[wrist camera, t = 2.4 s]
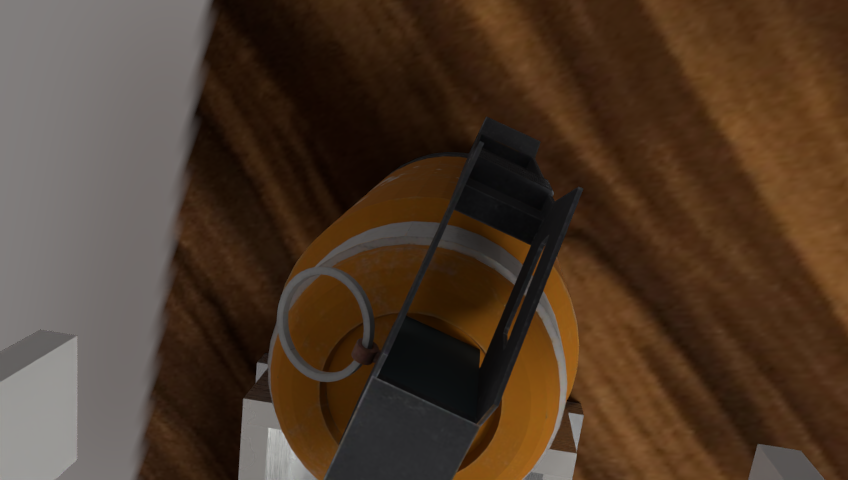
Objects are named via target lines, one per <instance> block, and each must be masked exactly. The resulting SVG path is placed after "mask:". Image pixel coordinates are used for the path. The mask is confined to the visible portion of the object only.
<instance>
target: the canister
mask: <svg viewBox="0 0 848 480" xmlns="http://www.w3.org/2000/svg"><path fill="white" fill-rule="evenodd" d="M539 145H540V141H538V140H536V139H534V138H531V137H529V136H527V135H525V134H523V133H521V132H518V131H516V130H514V129H512V128H510V127H508V126H506V125H503V124H501V123H499V122H497V121H495V120H493V119H490V118H488V117H486V118H485V120H484V123H483V125H482V127H481V129H480V131H479V133H478V135H477V137H476V140H475V142H474V144H473V146H472V148H471V150H470V152H469V154H467V153H457V152H444V153H435V154H430V155H426V156H423V157H419V158H416V159H414V160H412V161H410V162H408V163H405V164H403V165H402V166H400V167H399V168H397V169H396V170H394V171H393V172H391V173H390V174H389V175H388V176H387V177H386V178H384V179H383V180H382V181H381V182H380V183H379V184H377V185H376V186H375V187H374V188H373V189H372V190H371V191H369V192H368V193H367V194H366V195H365V196H364V197H363V198H361V199H360V200H359V201H358V202H357V203H356V204H355V205H353V206H352V207H351V208H350V209H349V210H348V211H346V212H345V213H344V214H343V215H342V216H341V217H340V218H338V219H337V220H336V221H335V222H334V223H333V224H332V225H330V226H329V227H328V228H327V229H326V230H325V231H324V232H323V233H322V234H321V235H320V236H319V237H317V238H316V239H315V240H314V241H313V242H312V243H311V244H310V245H309V246H308V248H307V249H306V250H305V252H304V253H303V254H302V256H301V257H300V258H299V260H298V261H297V262H296V264H295V266H294V268H293V270H292V272H291V274H290V276H289V278H288V280H287V282H286V284H285V287H284V290H283V293H282V295H281V298H280V301H279V305H278V311H277V322H276V325H275V328H274V331H273V335H272V338H271V342H270V349H269V356H268V384H269V389H270V394H271V399H272V404H273V407H274V410H275V413H276V416H277V419H278V421H279V424H280V427H281V430H282V432H283V434H284V436H285V438H286V440H287V442H288V443H289V445H290V447H291V449H292V451H293V452H294V453H295V455H296V456H297V457H298V459H299V460H300V461H301V463H302V464H303V465H304V467H305V468H306V469H307V470H308V471H309V472H310V473H311V474H312V475H313V476H314V477H315V478H316V479H317V480H524V479H525V478H526V477H527V475H528V474H529V473H530V472H531V471H532V470H533V469H534V468H535V467H536V466H537V465H538V464H539V463H540V461H541V460H542V458H543V457H544V455H545V454H546V452H547V451H548V449H549V448H550V447H551V444H552V442H553V440H554V438H555V436H556V434H557V431H558V429H559V427H560V424H561V420H562V416H563V412H564V409H565V404H566V402H567V399H568V397H569V395H570V393H571V390H572V387H573V383H574V379H575V375H576V372H577V365H578V354H579V338H578V326H577V320H576V316H575V312H574V308H573V305H572V301H571V298H570V295H569V292H568V289H567V285H566V282H565V279H564V276H563V273H562V270H561V267H560V264H559V261H558V258H557V255H558V252H559V250H560V247H561V244H562V242H563V239H564V237H565V234H566V232H567V229H568V226H569V224H570V221H571V219H572V216H573V214H574V211H575V208H576V206H577V203H578V201H579V198H580V196H581V193H582V191H583V188H580V187H578V188H576V189H574V190H573V191H571V192H570V193H568V194H566V195H565V196H563V197H562V198H560V199H558V200H557V201H554V199H553V197H552V196H553V195H554V193H553V190H552V188H551V186H550V184H549V182H548V180H547V179H545V178H544V177H543V175H542V173H541V171H540V169H539V166H538V164H537V162H536V160H535V157H536V154H537V151H538V148H539Z"/></svg>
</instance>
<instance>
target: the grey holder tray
mask: <svg viewBox="0 0 848 480" xmlns="http://www.w3.org/2000/svg"><path fill="white" fill-rule="evenodd" d="M268 356H269V353H265V354H264V355H263V356H262V357H261V358H260V359H259V361H258V362H257V370H256V383H255V384H254V386H253V387H252V388H251V389H250V391H249V392H248V393H247V394H246V396H245V397H244V398H243V412H242V428H241V444H240V460H239V476H238V480H317V479H316V478H315V477H314V476H313V475H312V474H311V473H310V472H309V471H308V470H307V469H306V468H305V467H304V465H303V464H302V463H301V461H300V460H299V459H298V457H297V456H296V455H295V453H294V452H293V451H292V449H291V447H290V445H289V443H288V442H287V440H286V438H285V436H284V434H283V432H282V430H281V427H280V424H279V421H278V419H277V416H276V413H275V410H274V407H273V404H272V399H271V394H270V389H269V384H268ZM583 416H584V414H583V410H582V406H581V403H575V402H569V401H567V402H566V404H565V409H564V412H563V416H562V420H561V424H560V427H559V429H558V431H557V434H556V436H555V438H554V440H553V442H552V444H551V447H550V448H549V449H548V451H547V452H546V454H545V455H544V457H543V458H542V460H541V461H540V463H539V464H538V465H537V466H536V467H535V468H534V469H533V470H532V471H531V472H530V473H529V474H528V475H527V477H526V478H525V479H524V480H572V476H573V471H574V466H575V461H576V456H577V446H578V441H579V436H580V431H581V426H582V421H583Z"/></svg>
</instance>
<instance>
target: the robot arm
mask: <svg viewBox="0 0 848 480" xmlns="http://www.w3.org/2000/svg"><path fill="white" fill-rule="evenodd" d="M76 460H77V335H70V334H64V333H58V332H52V331H45V330H39V331H37V332H35V333H33V334H32V335H30V336H28V337H26V338H24V339H22V340H21V341H19V342H17V343H15V344H13V345H11V346H9V347H8V348H6V349H4V350H2V351H0V480H55V479H56V478H57V477H59V476H60V475H61V474H62V473H63V472H64V471H65V470H66V469H67V468H69V467H70V466H71V465H72V464H73V463H74V462H75V461H76ZM748 480H825V479H824V478H823V477H822V476H821V475H820V473H819V472H818V471H817V470H816V469H815V467H814V466H813V465H812V464H811V463H810V461H809V460H808V459H807V458H806V457H805V455H804V454H803V453H802V452H801V451H799V450H793V449H786V448H780V447H774V446H768V445H761V444H758V445H757V449H756V453H755V457H754V460H753V464H752V468H751V472H750V475H749V479H748Z"/></svg>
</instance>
